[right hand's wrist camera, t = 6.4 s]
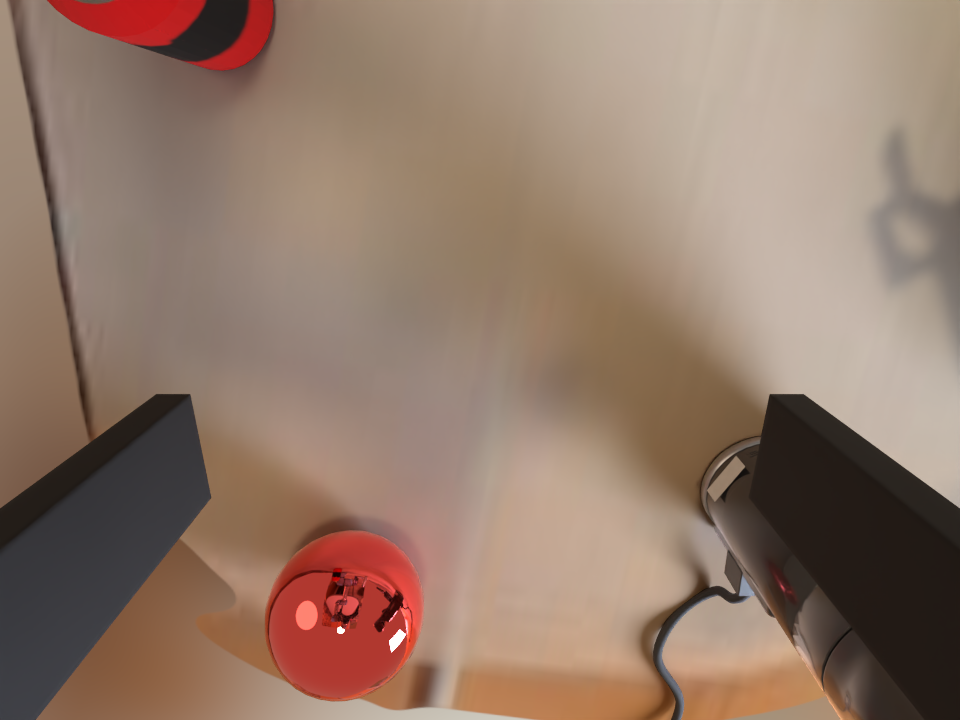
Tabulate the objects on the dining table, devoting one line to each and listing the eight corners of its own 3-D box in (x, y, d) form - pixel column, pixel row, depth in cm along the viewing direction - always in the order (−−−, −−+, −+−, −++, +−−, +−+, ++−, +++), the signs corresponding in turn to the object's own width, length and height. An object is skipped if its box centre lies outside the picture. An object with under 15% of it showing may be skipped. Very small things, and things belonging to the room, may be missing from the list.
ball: (380, 630, 51) (351, 764, 40) (269, 566, 48) (205, 690, 37) (458, 548, 48) (451, 669, 36) (343, 475, 45) (298, 581, 34)
